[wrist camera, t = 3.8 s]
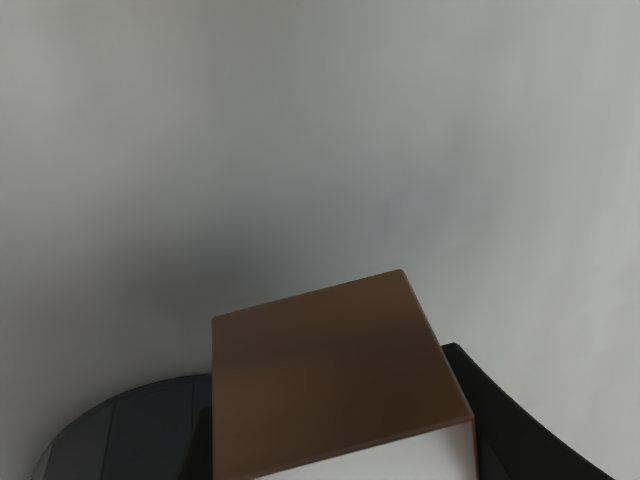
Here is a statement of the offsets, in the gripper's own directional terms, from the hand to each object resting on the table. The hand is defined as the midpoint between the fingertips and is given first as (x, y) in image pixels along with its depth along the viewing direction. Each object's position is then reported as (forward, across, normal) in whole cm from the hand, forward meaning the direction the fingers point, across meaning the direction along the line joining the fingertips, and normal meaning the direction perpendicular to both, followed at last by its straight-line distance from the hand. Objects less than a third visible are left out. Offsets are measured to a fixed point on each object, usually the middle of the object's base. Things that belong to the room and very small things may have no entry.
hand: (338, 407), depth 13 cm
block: (+1, 0, 0) cm, 1 cm away
